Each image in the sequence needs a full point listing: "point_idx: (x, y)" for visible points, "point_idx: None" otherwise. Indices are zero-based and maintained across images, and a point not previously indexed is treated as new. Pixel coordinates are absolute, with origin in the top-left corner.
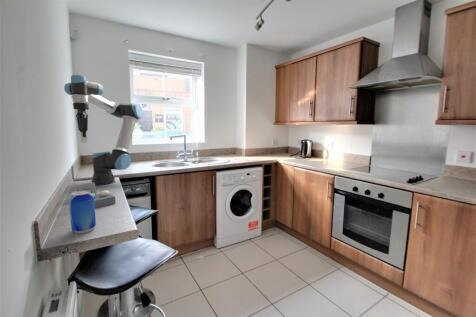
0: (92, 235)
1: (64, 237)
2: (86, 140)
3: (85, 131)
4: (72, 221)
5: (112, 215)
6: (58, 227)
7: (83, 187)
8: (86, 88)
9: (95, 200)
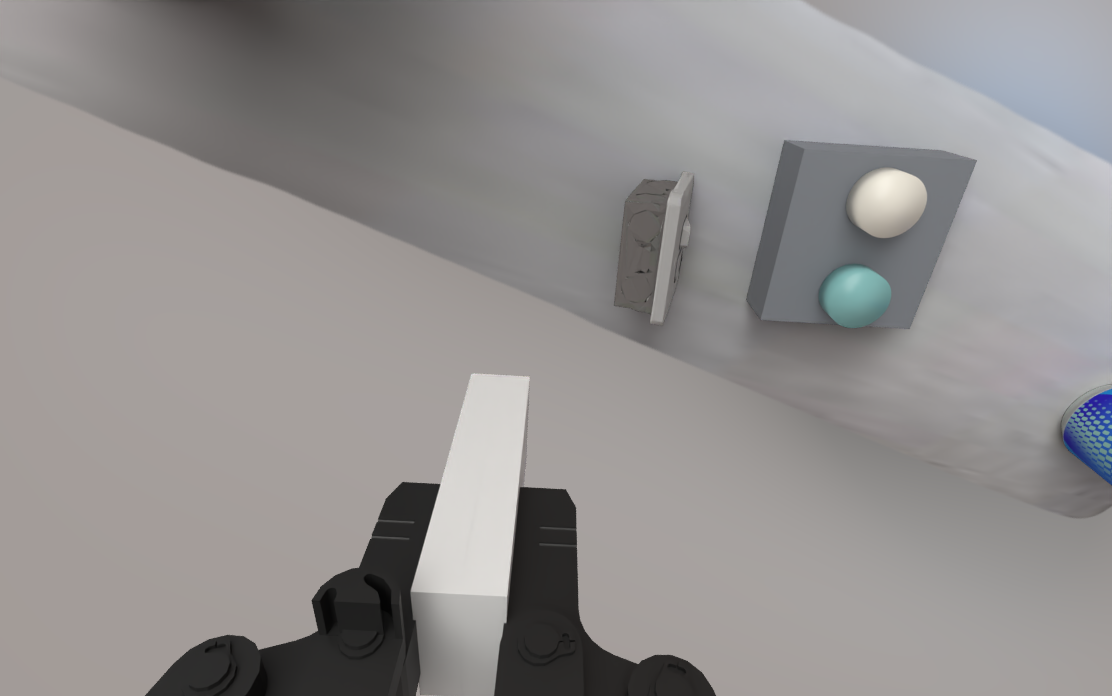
0: None
1: (1079, 473)
2: (525, 412)
3: (594, 647)
4: None
5: (1102, 270)
6: (961, 459)
7: (673, 278)
8: None
9: (919, 289)
